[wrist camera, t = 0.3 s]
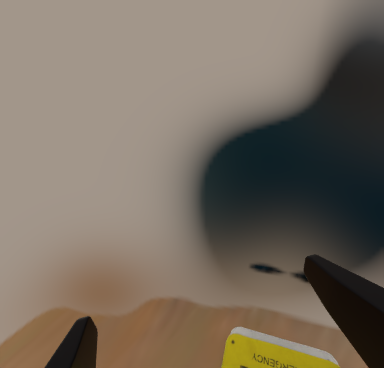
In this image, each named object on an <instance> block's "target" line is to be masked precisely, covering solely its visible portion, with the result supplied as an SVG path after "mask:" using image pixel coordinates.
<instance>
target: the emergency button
mask: <svg viewBox="0 0 384 368" xmlns="http://www.w3.org/2000/svg"><path fill="white" fill-rule="evenodd" d="M222 368H340V367H339V365H338V362H337V361H336V360H335V358H334V357H333V356H332V355H331V354H329V353H327V352H326V351H323V350H319V349H316V348H312V347H309V346H305V345H302V344H298V343H295V342H292V341H288V340H285V339H281V338H278V337H274V336H271V335H267V334H264V333H260V332H257V331H253V330H250V329H246V328H243V327H236V328H234V329H233V330H232V331H231V334H230V335H229V336H228V338H227V341H226V346H225V352H224V357H223V363H222Z"/></svg>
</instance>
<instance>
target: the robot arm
mask: <svg viewBox="0 0 384 368" xmlns="http://www.w3.org/2000/svg"><path fill="white" fill-rule="evenodd" d="M304 274H305V276H306V277H307V279H308V281H309V282H310V284H311V286H312V287H313V289H314V290H315V292H316V294H317V295H318V297H319V298H320V300H321V302H322V304H323V305H324V307H325V308H326V310H327V311H328V313H329V314H330V315H331V317H332V318H333V320H334V321H335V322H336V324H337V325H338V327H339V328H340V329H341V331H342V332H343V333H344V335H345V336H346V337H347V339H348V340H349V341H350V343H351V344H352V346H353V347H354V348H355V350H356V351H357V352H358V354H359V355H360V356H361V358H362V359H363V361H364V362H365V363H366V365H367V366H368V367H369V368H384V288H383V287H380V286H378V285H377V284H375V283H372V282H370V281H368V280H366V279H365V278H363V277H361V276H359V275H356V274H354V273H352V272H350V271H348V270H346V269H344V268H342V267H340V266H338V265H336V264H334V263H332V262H330V261H328V260H326V259H324V258H322V257H320V256H318V255H315V254H314V255H310V256H307V257H306V258H305V264H304ZM97 337H98V332H97V328H96V326H95V324H94V322H93V320H92V319H91V317H89V316H86V317H83V318H79V319H78V320H77V321H76V322H75V323H74V325H73V326H72V328H71V329H70V331H69V332H68V334H67V335H66V337H65V338H64V340H63V341H62V343H61V344H60V346H59V347H58V349H57V350H56V352H55V353H54V354H53V356H52V357H51V359H50V360H49V362H48V363H47V365H46V366H45V368H96V353H97Z"/></svg>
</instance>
